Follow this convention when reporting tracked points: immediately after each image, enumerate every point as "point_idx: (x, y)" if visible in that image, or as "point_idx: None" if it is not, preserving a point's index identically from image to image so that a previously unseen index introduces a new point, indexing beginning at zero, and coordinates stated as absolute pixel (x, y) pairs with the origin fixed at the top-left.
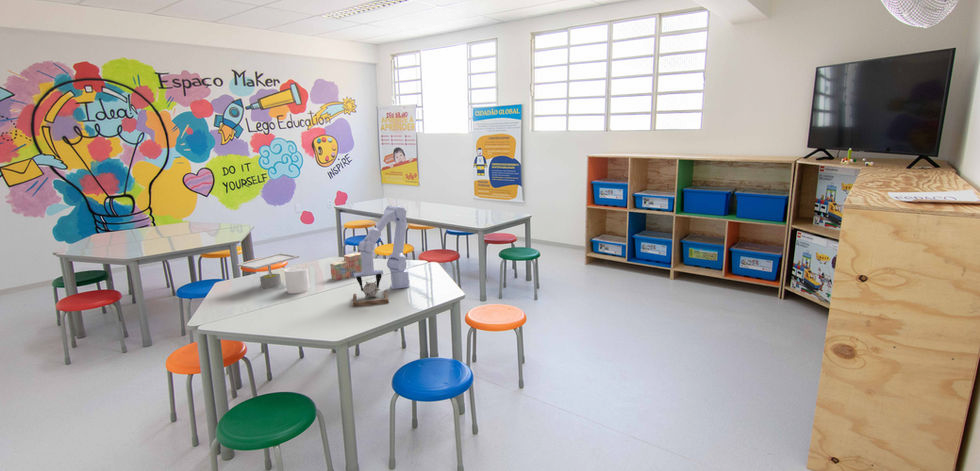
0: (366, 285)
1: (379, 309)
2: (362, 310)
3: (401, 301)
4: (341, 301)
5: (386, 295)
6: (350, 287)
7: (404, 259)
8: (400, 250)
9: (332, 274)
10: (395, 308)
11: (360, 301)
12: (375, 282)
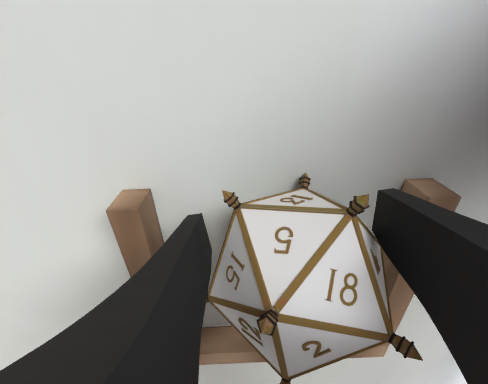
0: (261, 344)
1: (306, 378)
2: (227, 374)
3: None
4: (46, 247)
5: (396, 308)
6: None
7: None
8: None
9: None
10: (376, 380)
11: (210, 357)
12: (402, 344)
